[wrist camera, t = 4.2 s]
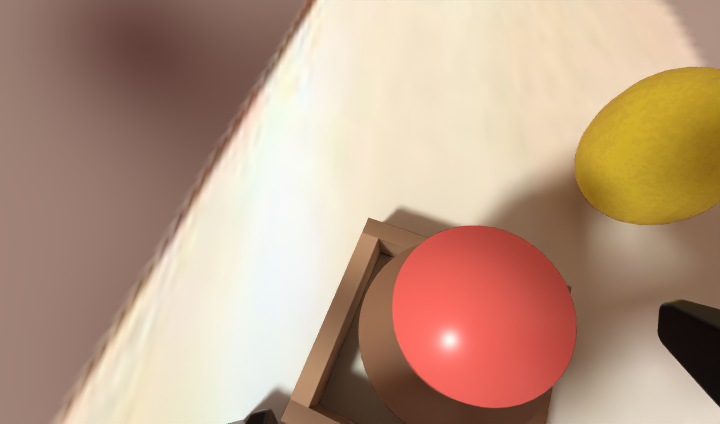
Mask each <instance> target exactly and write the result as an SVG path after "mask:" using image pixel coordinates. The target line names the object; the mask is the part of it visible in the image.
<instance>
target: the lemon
mask: <svg viewBox="0 0 720 424" xmlns="http://www.w3.org/2000/svg"><path fill="white" fill-rule="evenodd" d="M575 177H576V180H577V183H578V186H579V189H580V191H581V192H582V194H583V195H584V197H585V198H586V200H587V201H588V202H589V203H591V204H592V205H593V206H594V207H595V208H596V209H597V210H599V211H600V212H602V213H604V214H605V215H607V216H609V217H611V218H614V219H616V220H619V221H622V222H627V223H632V224H638V225H658V224H667V223H671V222H675V221H679V220H683V219H686V218H690V217H693V216H695V215H698V214H700V213H702V212H704V211H706V210H708V209H710V208H711V207H713V206H715V205H716V204H718V203H720V69H716V68H710V67H686V68H679V69H672V70H667V71H664V72H661V73H658V74H655V75H652V76H650V77H647V78H645V79H643V80H641V81H639V82H637V83H636V84H634V85H632V86H631V87H629V88H628V89H627V90H625V91H624V92H622V93H621V94H620V95H618V96H617V97H616V98H614V99H613V100H612V101H610V102H609V103H608V104H607V105H606V106H605V107H604V108H603V109H602V110H601V111H600V112H599V113H598V114H597V115H596V117H595V118H594V119H593V121H592V122H591V123H590V125H589V126H588V127H587V129H586V130H585V132H584V134H583V135H582V137H581V140H580V142H579V145H578V149H577V152H576V155H575Z"/></svg>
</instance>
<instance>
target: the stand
mask: <svg viewBox="0 0 720 424" xmlns="http://www.w3.org/2000/svg"><path fill="white" fill-rule="evenodd" d="M427 239H428V238H427V237H424V236H421V235H418V234H415V233H412V232H409V231H406V230H403V229H400V228H397V227H395V226H392V225H389V224H386V223H383V222H380V221H377V220H374V219H371V218H368V220H367V223H366V225H365V227H364V229H363V232H362V234H361V236H360V239H359V241H358V243H357V246H356V248H355V250H354V252H353V255H352V257H351V259H350V262H349V264H348V266H347V269H346V271H345V273H344V276H343V278H342V280H341V282H340V285H339V287H338V289H337V292H336V294H335V296H334V299H333V301H332V303H331V305H330V308H329V310H328V312H327V315H326V317H325V319H324V322H323V324H322V326H321V329H320V331H319V333H318V335H317V338H316V340H315V342H314V345H313V347H312V349H311V352H310V354H309V356H308V358H307V361H306V363H305V365H304V368H303V370H302V372H301V375H300V377H299V379H298V381H297V384H296V386H295V388H294V391H293V393H292V395H291V398H290V400H289V402H288V405H287V407H286V409H285V411H284V414H283V416H282V418H281V421H282V422H284V423H286V424H356V423H354V422H352V421H350V420H348V419H346V418H344V417H342V416H340V415H338V414H336V413H334V412H332V411H330V410H328V409H326V408H324V407H322V406H319V405H318V404H319V402H320V399H321V397H322V394H323V392H324V389H325V387H326V384H327V382H328V379H329V377H330V375H331V372H332V370H333V367H334V365H335V362H336V360H337V357H338V355H339V352H340V350H341V347H342V345H343V342H344V340H345V338H346V335H347V333H348V330H349V328H350V325H351V323H352V320H353V318H354V315H355V313H356V310H357V308H358V305H359V303H360V301H361V298H362V296H363V293H364V291H365V288H366V286H367V283H368V281H369V278H370V276H371V273H372V271H373V268H374V266H375V264H376V261H377V259H378V256H379V254H380V252H381V253H383V254H386V255H389V256H392V257H395V256H397V255H398V254H400V253H401V252H403V251H405V250H407V249H409V248H411V247H413V246H416V245H419V244H421V243H422V242H424V241H425V240H427ZM566 286H567V285H566ZM567 288H568V290H569V292H570V293H571V287H570V286H567ZM552 387H553V386H552ZM551 392H552V388H551V390H550V392H549V395H548V397H547V399H546V400H545V402H544V403H543V405H542V407H541V408H540V410H539V411H538V412H537V413H536V414H535V415H534V416H533V418H532V419H531V420H530V421H528V422H527V423H526V424H545V423H546V418H547V413H548V408H549V402H550V397H551Z"/></svg>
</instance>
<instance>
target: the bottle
mask: <svg viewBox="0 0 720 424" xmlns="http://www.w3.org/2000/svg"><path fill="white" fill-rule="evenodd" d="M576 331H577V328H576V315H575V309H574V304H573V301H572V298H571V295H570V292H569V290H568V288H567V286H566V283H565V282H564V280H563V278H562V277H561V275H560V273H559V272H558V270H557V269H556V268H555V266H554V265H553V264H552V263H551V262H550V261H549V259H548V258H547V257H546V256H545V255H544V254H543V253H541V252H540V251H539V250H538V249H537V248H535V247H534V246H533V245H531V244H530V243H528V242H527V241H525V240H524V239H522V238H520V237H518V236H516V235H514V234H511V233H509V232H506V231H504V230H500V229H496V228H492V227H486V226H460V227H455V228H451V229H447V230H445V231H442V232H439V233H437V234H435V235H433V236H431V237H430V238H428V239H427V240H425V241H424V242H422V243H421V244H419V245H416V246H413V247H411V248H409V249H407V250H405V251H403V252H401V253H400V254H398V255H397V256H395V257H394V258H393V259H391V260H390V261H389V262H388V263H387V264H386V265H385V266H384V267H383V268H382V269H381V270H380V272H379V273H378V274H377V275H376V277H375V278H374V280H373V281H372V283H371V284H370V286H369V289H368V291H367V293H366V295H365V298H364V301H363V304H362V307H361V312H360V317H359V329H358V335H359V347H360V352H361V358H362V361H363V364H364V367H365V371H366V373H367V375H368V377H369V380H370V382H371V384H372V386H373V387H374V389H375V390H376V392H377V394H378V395H379V397H380V398H381V399H382V401H383V402H384V403H385V404H386V406H387V407H388V408H389V409H390V410H391V411H392V412H393V413H394V414H395V415H396V416H397V417H398V418H399V419H401V420H402V421H403V422H405V423H406V424H526V423H527V422H528V421H530V420H531V419H532V418H533V416H534V415H535V414H536V413H537V412H538V411H539V410H540V408H541V407H542V405H543V403H544V402H545V400H546V399H547V397H548V395H549V392H550V390H551V388H552V386H553V385H554V384H555V383H556V381H557V380H558V379H559V378H560V377H561V376H562V374H563V372H564V371H565V369H566V368H567V366H568V364H569V361H570V359H571V357H572V354H573V350H574V346H575V341H576Z"/></svg>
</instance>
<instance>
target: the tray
mask: <svg viewBox="0 0 720 424" xmlns="http://www.w3.org/2000/svg"><path fill="white" fill-rule="evenodd" d="M245 422H246V421H244V420H240V421H236V422H232V423H228V424H244V423H245Z"/></svg>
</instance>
